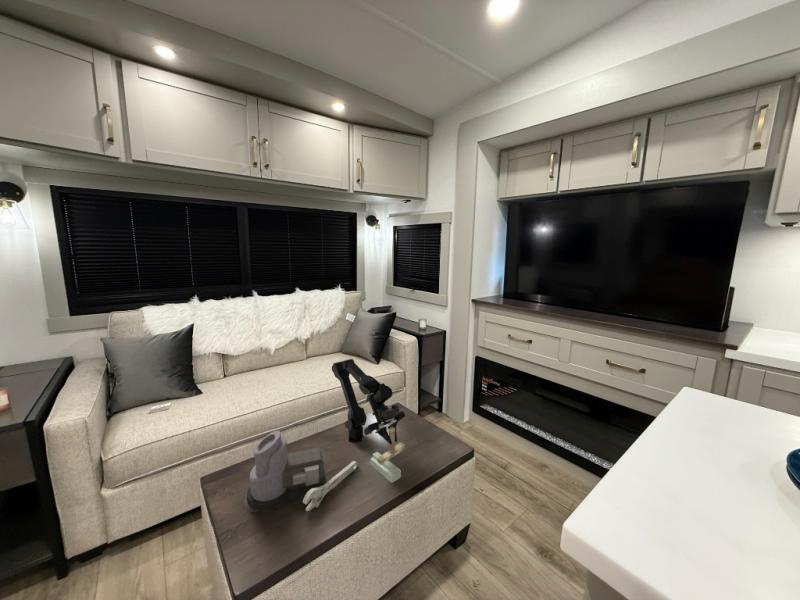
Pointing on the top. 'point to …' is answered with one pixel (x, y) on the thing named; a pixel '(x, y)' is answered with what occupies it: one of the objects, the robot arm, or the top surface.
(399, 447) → the rubber stamp
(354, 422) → the robot arm
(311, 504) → the wrench
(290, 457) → the juicer
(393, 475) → the ridge
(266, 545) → the top surface
